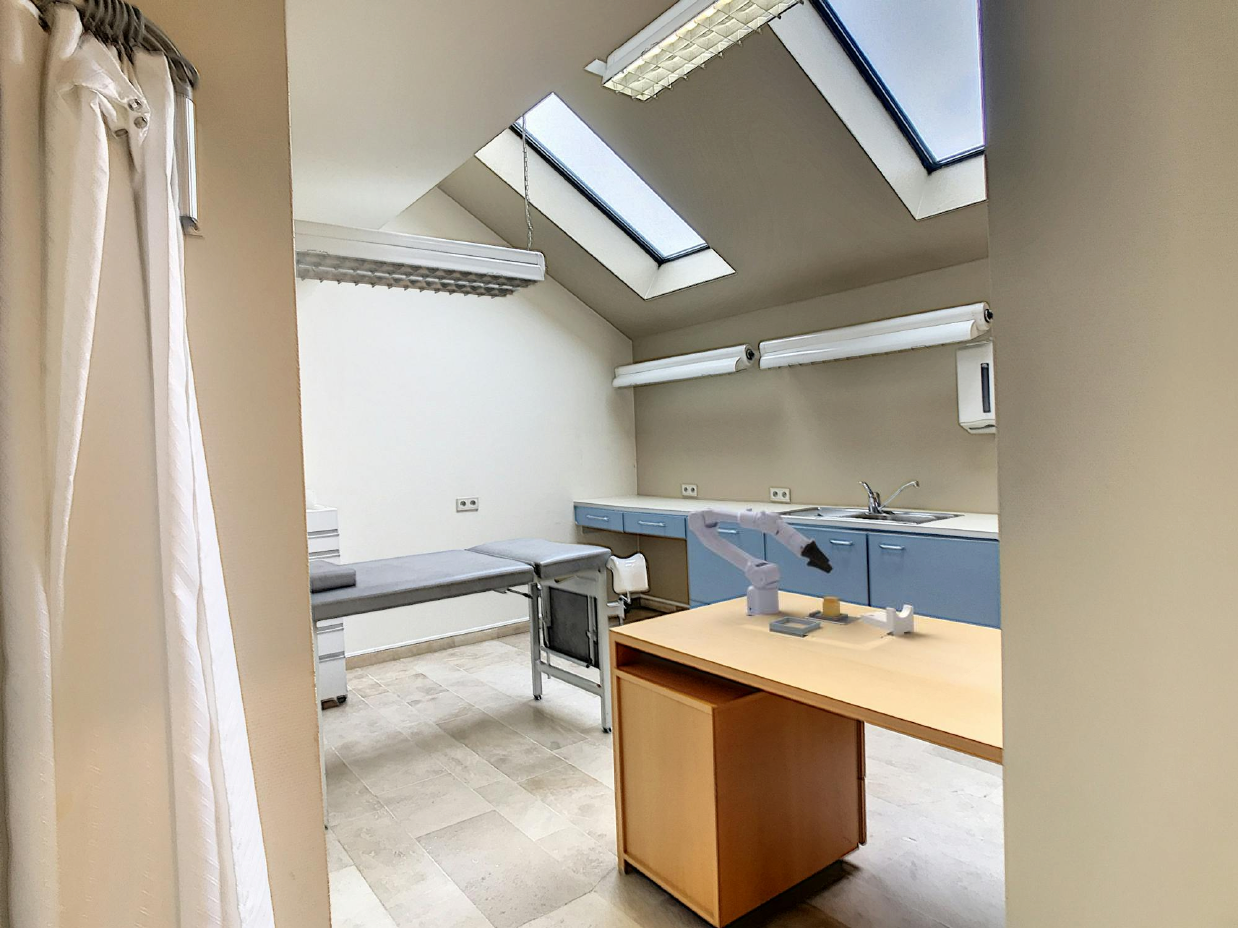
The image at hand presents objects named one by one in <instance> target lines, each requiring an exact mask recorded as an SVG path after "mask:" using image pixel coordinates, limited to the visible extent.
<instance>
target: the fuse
mask: <svg viewBox="0 0 1238 928" xmlns="http://www.w3.org/2000/svg"><path fill="white" fill-rule="evenodd" d="M822 599H823V601H822V612H823V616H829V617H837V616H840V613H841V602H840V601H839V599H840V598H839V597H835V596H824V597H822Z"/></svg>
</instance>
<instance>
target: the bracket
mask: <svg viewBox="0 0 1238 928" xmlns="http://www.w3.org/2000/svg"><path fill="white" fill-rule="evenodd" d="M860 618H861V619H860V622H861V623H864V624H867V625H869V626H870V625H871V626H874V627H876V628H880V629H883V630H886V631H889V632H888V633H886V635H888V636H891V635H892V636H891V637H897V635H899V636H904V635H905V633H908V632H912V631H915V624H914V622H915V621H914V620H915V619H914V618H915V617H914V606H912V605H909V604H903V608H902V611H901V612H900V613H899V614H898V613H897V610H896V609H895V608H892V607H885V612H884V611H875V612H869V613H867V612H866V613H861V614H860ZM903 634H904V635H903Z"/></svg>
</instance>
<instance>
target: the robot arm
mask: <svg viewBox="0 0 1238 928" xmlns="http://www.w3.org/2000/svg"><path fill="white" fill-rule="evenodd" d="M719 522H731V523H736V524H737V523H738V524H739V525H740V527H741V528H744V529H752V530H757V531H760V532H761V533H763V534H769V535H770V536H772V537H773V538H774V539H776V540H777V541H778V542H780V543H781V544H782V545H784V546H785V547H786V548H787V549H788V550H790V551H791V552H793V553H794V554H795V555H797V557H798V558H800V559H806V560H807V563H806V566H807V567H809V568H810V567H811V568H815V569H818V570H820V571H822V572H824V573H826V574H830V573H831V572H832V571H833V570H834V567H833V566H832V565H831V564H830V559H829V558H828V557H827V556H826V554H825V553H824V552H823V551H822V550H821V549H820V548H819V546H818V545H817V543H816V539H815V538H813V537H811V538H810V539H808V537H805V536H804V535H803V534H802V533H800V532H799V531H798V530H796V529H795V528H793V527H792V525H789V524H788V523H787V522H785V521H784V519H783V518H782V516H781V515H780V514H779V513H778V512H775V511H771V512H768V513H767V512H766V511H765V510H761V511H757V510H753V508H749V507H747V508H746V509H742V511H741V512H738V511H734V510H733V511H732V510H729V509H723V508H715V507H714V508H711V507H708V508H706V509H705V508H704V509H699V510H692V511H690V512H689V514H688V516H687V523H688V528H689V530H690V531H692V532H693V533H694V534H695V536H696V537H697V538H698V539H699V541H700V543H701V544H702V546H704V547H706V548H708V549H709V550H710V551H711V552H713V553H715V554H716V555H718V556H720V557H722V558H723V559H725V560H726V561H728V562H729V563H731V564H732V565H733V566H735V567H737V568H739V569H740V570H742V571H743V572H744V575H745V578H747V579H748V580H749V581H750V582H751V584H752V585H750V586H749V587H748V588H747V591H746V608H747V609H746V610H747V611H746V613H745V614H746V615H747V616H751V617H755V616H758V615H760V614H761V615H774V614H775V615H776V614H778V613H779V612H780V602H779V601H780V600H779V582H780V581H781V579H782V576H783V575H782V574H783V573H782V569H781V567H780V566H779V565H778V564H776V563H773V562H768V561H766V560H763V559H758V558H756V557H754V556H752V555H750V554H749V553H747V552H746V551H745V550H743V549H741V548H739V547H738V546H736V545H735V544H732V542H730V541H728V540H727V539H725V538H723V537H721V536H720V535H719Z"/></svg>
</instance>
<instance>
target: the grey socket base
mask: <svg viewBox="0 0 1238 928" xmlns="http://www.w3.org/2000/svg"><path fill="white" fill-rule="evenodd" d="M802 619H805V620H811V621H817V622H823V623H830V624H835V625H841V626H847V625H848V624H851V623H854V622H856V621H858V620H861V617H857V616H851V615H849V613H843V612H840V616H837V617H829V616H823V611H821V610H819V609H817V610H815V611H812V612H809V613H808V615H806V616H803V617H802Z"/></svg>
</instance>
